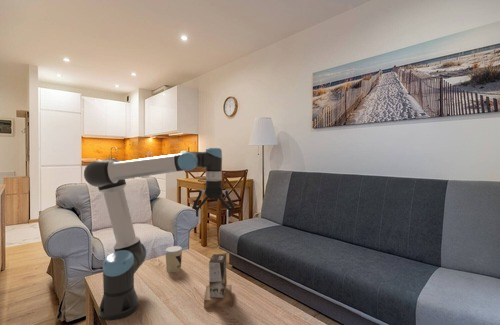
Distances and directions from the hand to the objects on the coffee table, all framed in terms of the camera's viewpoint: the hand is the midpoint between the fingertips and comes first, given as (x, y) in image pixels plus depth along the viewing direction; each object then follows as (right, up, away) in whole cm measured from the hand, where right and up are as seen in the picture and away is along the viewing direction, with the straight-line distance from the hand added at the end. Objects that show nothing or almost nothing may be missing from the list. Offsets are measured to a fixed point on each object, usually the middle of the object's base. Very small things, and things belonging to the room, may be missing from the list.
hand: (213, 223), depth 127 cm
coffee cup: (-26, -32, +22) cm, 46 cm away
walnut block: (+3, -34, -7) cm, 35 cm away
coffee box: (+3, -30, -7) cm, 31 cm away
